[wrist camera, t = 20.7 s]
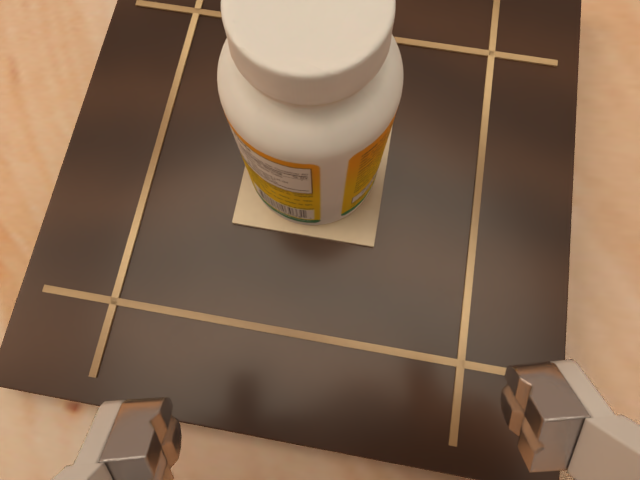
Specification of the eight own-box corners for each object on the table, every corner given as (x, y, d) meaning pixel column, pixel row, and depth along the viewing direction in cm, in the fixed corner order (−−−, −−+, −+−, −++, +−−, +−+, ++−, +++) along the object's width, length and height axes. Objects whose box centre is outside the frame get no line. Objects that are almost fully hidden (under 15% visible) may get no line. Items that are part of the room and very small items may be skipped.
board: (540, 484, 18) (561, 497, 16) (13, 382, 19) (-17, 385, 17) (565, 17, 23) (584, -9, 21) (150, -41, 24) (137, -69, 23)
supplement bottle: (266, 241, 19) (209, 131, 9) (240, 127, 20) (166, -71, 11) (392, 210, 19) (458, 73, 10) (358, 99, 20) (387, -117, 11)
